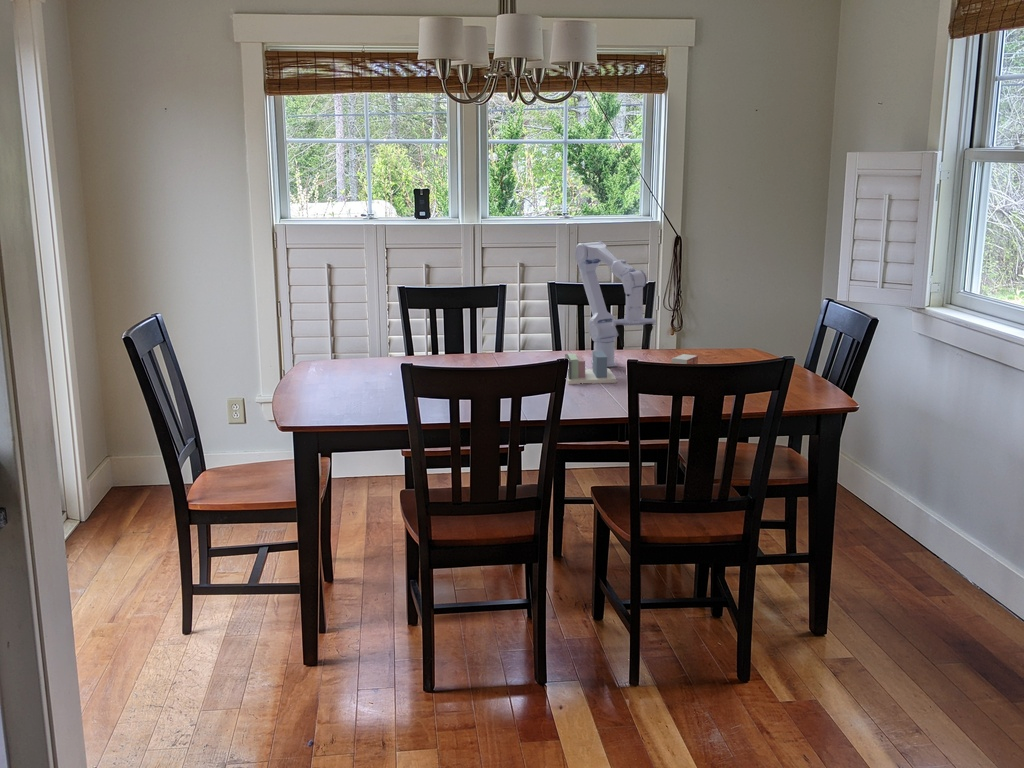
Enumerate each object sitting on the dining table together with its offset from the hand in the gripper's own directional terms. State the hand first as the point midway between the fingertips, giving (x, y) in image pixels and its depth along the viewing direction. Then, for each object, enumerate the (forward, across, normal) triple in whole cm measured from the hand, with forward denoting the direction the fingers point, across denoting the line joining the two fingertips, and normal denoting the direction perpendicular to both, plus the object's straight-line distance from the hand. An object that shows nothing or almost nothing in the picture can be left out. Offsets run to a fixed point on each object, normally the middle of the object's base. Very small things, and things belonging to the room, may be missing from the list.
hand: (633, 346), depth 336 cm
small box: (+10, +12, -24) cm, 29 cm away
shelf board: (+9, -16, -5) cm, 19 cm away
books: (+8, -20, -5) cm, 23 cm away
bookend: (+8, -23, -5) cm, 25 cm away
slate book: (+8, -12, -5) cm, 16 cm away
